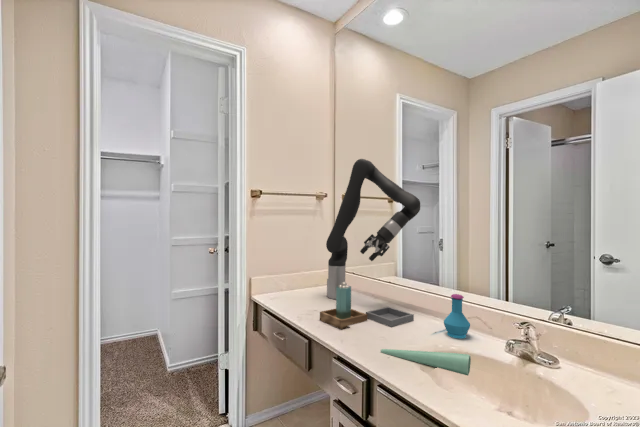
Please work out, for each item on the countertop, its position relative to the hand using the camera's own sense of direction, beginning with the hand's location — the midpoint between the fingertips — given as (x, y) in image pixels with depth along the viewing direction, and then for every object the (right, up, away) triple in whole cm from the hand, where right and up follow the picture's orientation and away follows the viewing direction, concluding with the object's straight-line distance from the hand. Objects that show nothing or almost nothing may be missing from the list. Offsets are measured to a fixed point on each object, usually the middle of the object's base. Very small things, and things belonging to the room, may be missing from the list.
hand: (365, 256), depth 155 cm
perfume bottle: (+30, -26, -30) cm, 50 cm away
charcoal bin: (+8, -25, -16) cm, 31 cm away
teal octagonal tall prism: (-11, -24, -16) cm, 31 cm away
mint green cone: (+10, -26, -53) cm, 60 cm away
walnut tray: (-12, -25, -16) cm, 32 cm away
